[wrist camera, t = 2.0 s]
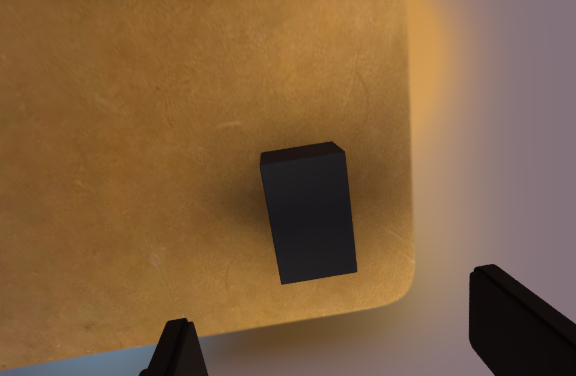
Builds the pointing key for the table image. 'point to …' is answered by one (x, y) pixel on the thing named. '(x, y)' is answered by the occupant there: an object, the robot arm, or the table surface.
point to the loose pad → (309, 211)
